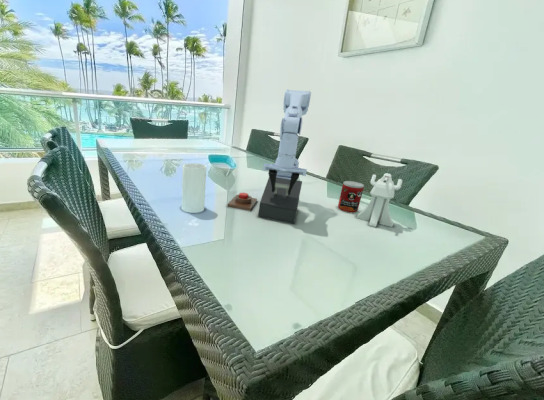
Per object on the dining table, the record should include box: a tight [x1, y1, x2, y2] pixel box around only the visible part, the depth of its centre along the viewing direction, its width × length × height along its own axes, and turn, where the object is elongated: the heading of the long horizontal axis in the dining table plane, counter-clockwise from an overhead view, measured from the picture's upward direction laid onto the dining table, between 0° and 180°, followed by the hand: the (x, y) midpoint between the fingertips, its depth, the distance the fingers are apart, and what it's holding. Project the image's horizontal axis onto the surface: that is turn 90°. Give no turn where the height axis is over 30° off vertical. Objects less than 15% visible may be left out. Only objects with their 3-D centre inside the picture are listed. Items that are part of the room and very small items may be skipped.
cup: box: [181, 162, 207, 214], centre depth 97 cm, size 8×8×16 cm
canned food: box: [337, 180, 365, 214], centre depth 110 cm, size 8×8×11 cm
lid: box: [259, 176, 303, 212], centre depth 98 cm, size 16×13×5 cm
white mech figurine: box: [356, 172, 403, 228], centre depth 98 cm, size 12×13×18 cm
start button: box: [238, 192, 249, 199], centre depth 107 cm, size 4×4×2 cm
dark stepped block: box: [257, 200, 300, 225], centre depth 101 cm, size 16×13×5 cm
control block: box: [227, 193, 258, 212], centre depth 108 cm, size 12×9×3 cm
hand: (281, 192), depth 96 cm, fingers closed on lid, 5 cm apart
